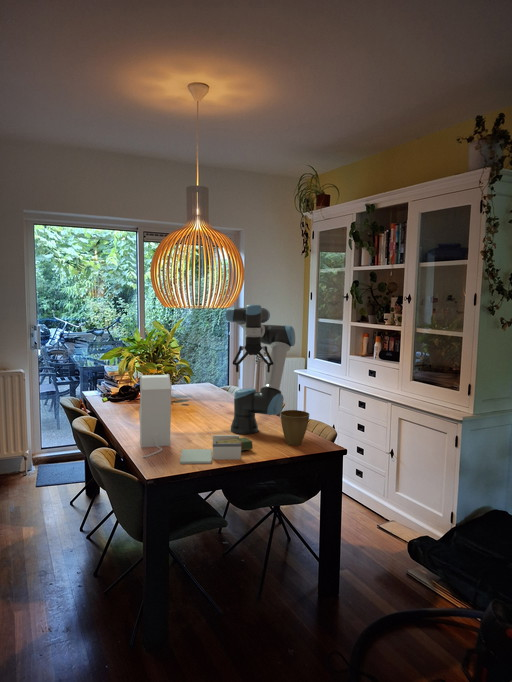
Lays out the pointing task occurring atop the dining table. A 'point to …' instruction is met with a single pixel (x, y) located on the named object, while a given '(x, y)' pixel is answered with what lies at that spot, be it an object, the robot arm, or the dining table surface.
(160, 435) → the tall slanted-top box
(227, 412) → the dining table surface
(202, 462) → the plate
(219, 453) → the rack
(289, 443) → the plant pot
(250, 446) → the carton
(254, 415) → the robot arm
